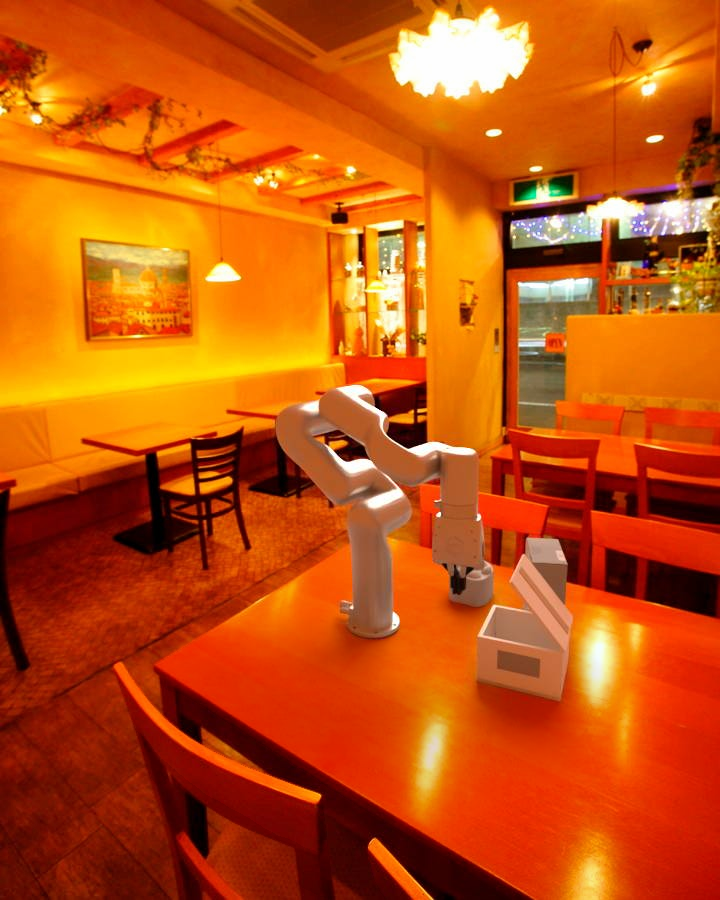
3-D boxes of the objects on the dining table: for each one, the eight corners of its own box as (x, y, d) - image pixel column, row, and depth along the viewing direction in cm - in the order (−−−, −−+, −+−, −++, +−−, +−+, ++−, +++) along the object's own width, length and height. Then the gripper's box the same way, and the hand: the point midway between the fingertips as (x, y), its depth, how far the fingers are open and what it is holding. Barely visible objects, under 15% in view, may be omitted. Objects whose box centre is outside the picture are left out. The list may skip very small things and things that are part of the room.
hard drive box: (563, 649, 125) (568, 565, 120) (527, 646, 126) (530, 563, 122) (554, 614, 140) (558, 537, 135) (521, 612, 141) (524, 536, 137)
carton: (476, 681, 115) (477, 636, 112) (492, 645, 127) (493, 604, 125) (560, 701, 108) (563, 654, 106) (568, 661, 120) (570, 618, 118)
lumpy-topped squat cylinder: (444, 599, 149) (444, 568, 147) (463, 580, 160) (463, 551, 158) (483, 609, 143) (483, 577, 141) (499, 588, 154) (500, 558, 152)
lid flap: (508, 582, 107) (511, 581, 107) (522, 555, 120) (524, 553, 119) (563, 653, 106) (566, 651, 105) (570, 617, 118) (573, 616, 118)
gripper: (418, 510, 116) (418, 593, 120) (491, 519, 110) (489, 606, 114) (429, 499, 123) (429, 578, 127) (500, 507, 116) (497, 590, 120)
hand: (458, 591), depth 120 cm, fingers closed
